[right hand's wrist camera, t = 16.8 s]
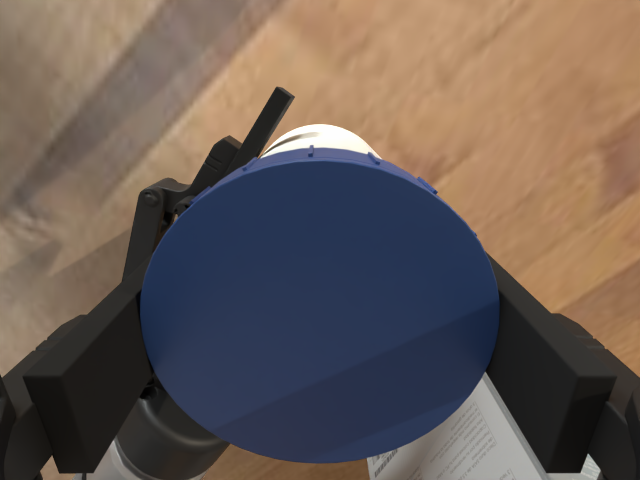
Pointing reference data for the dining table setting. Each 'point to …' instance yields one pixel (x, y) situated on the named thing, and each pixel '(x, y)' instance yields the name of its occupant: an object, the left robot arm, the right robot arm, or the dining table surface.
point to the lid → (319, 307)
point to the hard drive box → (471, 448)
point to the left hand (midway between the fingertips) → (371, 153)
